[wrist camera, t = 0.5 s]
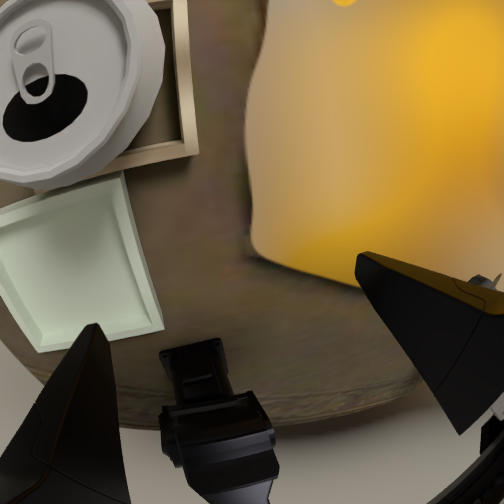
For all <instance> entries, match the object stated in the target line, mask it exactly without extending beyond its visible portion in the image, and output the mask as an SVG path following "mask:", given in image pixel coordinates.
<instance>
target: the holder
mask: <svg viewBox="0 0 504 504" xmlns="http://www.w3.org/2000/svg"><path fill="white" fill-rule="evenodd" d="M145 1H146V2H147V3H148V5H149V6H150V7H151V8H152V10H153V11H155V10H162V9H170V8H171V25H172V42H173V56H174V69H175V81H176V92H177V102H178V112H179V121H180V130H181V138H182V139H180V140H174V141H169V142H164V143H159V144H154V145H149V146H144V147H140V148H135V149H131V150H126V151H123V152H121V153H120V154H119V155H118V156H117V157H115V158H114V159H113V160H112V161H111V162H110V163H109V164H107V165H106V166H105V167H104V168H103V169H102V170H101V171H99V172H97V173H95V174H93V175H91V176H89V177H86V178H84V179H82V180H85V179H89V178H93V177H96V176H100V175H104V174H108V173H111V172H115V171H119V170H123V169H128V168H132V167H136V166H141V165H145V164H150V163H154V162H159V161H164V160H169V159H174V158H180V157H185V156H191V155H197V154H199V149H198V139H197V130H196V120H195V110H194V99H193V88H192V76H191V63H190V49H189V33H188V15H187V0H145ZM82 180H80V181H82ZM78 182H79V181H78ZM57 188H59V187H57ZM53 189H56V188H50V189H43V190H37V189H33V190H34V193H35V195H38V194H41V193H44V192H47V191H50V190H53Z"/></svg>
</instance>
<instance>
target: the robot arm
mask: <svg viewBox="0 0 504 504" xmlns="http://www.w3.org/2000/svg"><path fill="white" fill-rule="evenodd" d="M355 277H356V280H357V281H358V283H359V285H360V286H361V288H362V290H363V291H364V293H365V294H366V296H367V298H368V299H369V301H370V303H371V304H372V306H373V308H374V309H375V311H376V312H377V314H378V315H379V316H380V318H381V319H382V320H383V322H384V323H385V325H386V326H387V327H388V329H389V330H390V331H391V333H392V334H393V336H394V337H395V338H396V340H397V341H398V343H399V344H400V346H401V347H402V348H403V350H404V351H405V353H406V354H407V356H408V357H409V358H410V360H411V361H412V363H413V364H414V366H415V367H416V369H417V370H418V372H419V373H420V375H421V376H422V378H423V379H424V381H425V382H426V383H427V385H428V387H429V388H430V390H431V391H432V393H433V394H434V396H435V398H436V399H437V401H438V402H439V404H440V406H441V407H442V409H443V410H444V412H445V414H446V415H447V417H448V419H449V420H450V422H451V424H452V425H453V427H454V428H455V430H456V432H457V433H458V435H459V436H460V435H461V434H462V433H464V432H465V431H466V430H467V429H468V428H469V427H470V426H471V425H472V424H473V423H474V422H475V421H476V420H478V418H480V416H482V415H483V413H485V412H486V410H488V408H489V409H490V410H491V411H492V412H493V415H492V416H491V417H490V418H489V420H488V421H487V422H486V423H485V424H484V425H483V426H482V427H481V442H480V457H479V458H478V459H477V460H476V461H475V462H474V463H473V464H472V465H471V466H470V467H469V468H468V469H467V470H465V471H464V472H463V473H462V474H461V475H460V476H459V477H458V478H457V479H456V480H455V481H454V482H452V483H451V484H450V485H449V486H448V487H447V488H445V489H444V490H443V491H442V492H441V493H439V494H438V495H437V496H436V497H435V498H433V499H432V500H431V501H429V502H428V503H427V504H504V292H501V291H497V290H494V289H490V288H486V287H482V286H479V285H475V284H472V283H469V282H465V281H462V280H459V279H456V278H453V277H452V278H451V277H450V276H447V275H444V274H440V273H437V272H434V271H431V270H428V269H425V268H422V267H418V266H415V265H412V264H409V263H405V262H402V261H399V260H396V259H393V258H389V257H386V256H383V255H379V254H376V253H372V252H369V251H366V252H363V253H360V254H358V256H357V259H356V267H355ZM217 342H218V343H217ZM159 354H160V359H161V361H162V363H163V365H164V367H165V369H166V371H167V373H168V375H169V377H170V379H171V381H172V383H173V388H174V394H175V398H176V403H177V405H173V406H168V405H166V406H162V410H163V412H162V413H161V414H160V415H159V416H158V418H159V424H160V430H161V446H162V451H163V453H164V454H165V455H167V456H168V457H170V460H171V461H173V464H174V466H175V468H180V467H183V470H184V473H185V477H186V480H187V483H188V484H189V486H190V487H191V488H192V489H193V490H194V491H196V492H197V493H198V494H199V495H200V496H201V497H203V498H204V499H205V500H206V501H207V502H208V503H210V504H270V502H269V499H268V497H269V494H270V490H271V487H272V484H273V480H274V479H277V478H278V474H279V467H280V466H279V463H278V461H277V458H276V456H275V453H274V450H273V448H274V447H275V444H276V443H275V434H274V430H273V427H272V424H271V422H270V420H269V418H268V416H267V414H266V413H265V411H264V410H263V408H262V406H261V405H260V403H259V401H258V400H257V398H256V396H255V395H254V393H253V391H252V390H251V391H247V392H246V393H242V394H237V395H234V393H233V390H232V387H231V385H230V382H229V379H228V376H227V374H228V369H227V364H226V359H225V354H224V349H223V345H222V341H221V339H220V338H214V339H210V340H206V341H202V342H198V343H194V344H190V345H185V346H181V347H177V348H172V349H168V350H163V351H161V352H160V353H159ZM0 504H131V500H130V495H129V491H128V486H127V480H126V474H125V469H124V463H123V456H122V449H121V440H120V432H119V422H118V411H117V396H116V385H115V379H114V372H113V365H112V358H111V350H110V344H109V341H108V339H107V337H106V336H105V334H104V332H103V330H102V328H101V327H100V325H99V324H98V323H92V324H87V325H86V326H85V327H84V328H83V330H82V331H81V332H80V334H79V335H78V337H77V338H76V340H75V341H74V342H73V344H72V345H71V347H70V348H69V350H68V351H67V353H66V354H65V355H64V357H63V358H62V360H61V361H60V363H59V364H58V366H57V368H56V369H55V371H54V372H53V374H52V375H51V377H50V378H49V380H48V382H47V383H46V385H45V386H44V388H43V390H42V391H41V393H40V394H39V396H38V398H37V399H36V401H35V403H34V404H33V406H32V408H31V409H30V411H29V413H28V415H27V416H26V418H25V419H24V421H23V423H22V424H21V426H20V427H19V429H18V431H17V432H16V434H15V435H14V437H13V438H12V440H11V441H10V443H9V445H8V446H7V447H6V449H5V451H4V452H3V454H2V455H1V457H0Z"/></svg>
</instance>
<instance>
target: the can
mask: <svg viewBox="0 0 504 504" xmlns="http://www.w3.org/2000/svg"><path fill="white" fill-rule="evenodd" d="M164 55H165V44H164V40H163V36H162V33H161V29H160V25H159V21H158V17H157V15H156V14H155V12H154V11H153V10H152V8H151V7H150V6H149V5H148V3H147V2H146V1H145V0H9V1H7V2H6V3H5V4H4V5H3V6H2V7H1V8H0V181H4V182H9V183H11V184H13V185H18V186H23V187H28V188H33V189H37V190H43V189H50V188H57V187H64V186H70V185H72V184H74V183H76V182H78V181H80V180H82V179H84V178H86V177H89V176H91V175H93V174H95V173H97V172H99V171H101V170H102V169H103V168H104V167H105V166H106V165H107V164H109V163H110V162H111V161H112V160H113V159H114V158H115V157H117V156H118V155H119V154H120V153H121V152H123V151H124V150H125V149H126V148H127V147H128V146H129V144H130V143H131V141H132V140H133V138H134V137H135V135H136V134H137V133H138V131H139V130H140V128H141V127H142V126H143V124H144V123H145V122H146V120H147V119H148V117H149V115H150V112H151V110H152V107H153V104H154V102H155V99H156V97H157V94H158V91H159V89H160V86H161V84H162V79H163V66H164Z"/></svg>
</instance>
